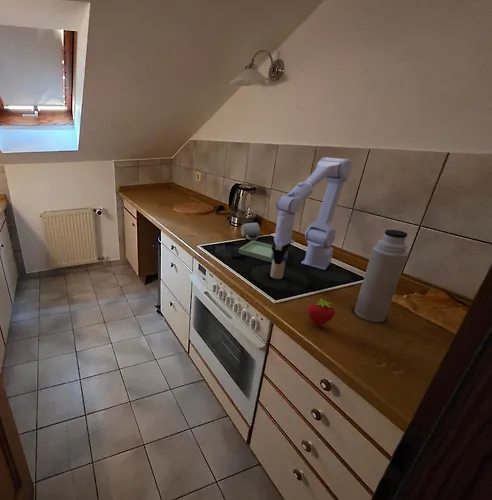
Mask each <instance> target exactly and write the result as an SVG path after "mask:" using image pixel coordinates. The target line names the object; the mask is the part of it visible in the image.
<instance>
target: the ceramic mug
mask: <svg viewBox="0 0 492 500" xmlns="http://www.w3.org/2000/svg"><path fill="white" fill-rule="evenodd" d="M260 233H261V228H260V225H259V223H258V222H250V223H249V222H248V223H243V224H241V225H240V235H241V237H243V238H246V239H247V240H248V241H250V242H251V241H257V240H258V239H259V236H260Z"/></svg>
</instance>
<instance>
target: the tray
mask: <svg viewBox="0 0 492 500" xmlns="http://www.w3.org/2000/svg"><path fill="white" fill-rule="evenodd" d="M288 251H289V250H288ZM288 251H287V252H286V253H287V254H288ZM272 252H273V251H272V244H269V243H265V242H261V241H257V240H255V241H251V240H250V242H247V243H246V244H244V245H243V246H240V247H239V248H238V254H240V255H243V256H247V257H250V258H254V259H258V260H260V261H264V262H268V263H271V264H272V260H273V259H272V258H271V255H272Z"/></svg>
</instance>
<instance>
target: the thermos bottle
mask: <svg viewBox="0 0 492 500" xmlns="http://www.w3.org/2000/svg"><path fill="white" fill-rule="evenodd" d="M407 237H408V233H407V232H406V231H403V230H398V229H385V231H384V234H383V237H382V238H381V239H378V240H377V242H376V245H374V246H373V247H372V250H371V253H370V257H369V260H368V264H367V267H366V270H365V273H364V277H363V280H362V283H361V287H360V290H359V294H358V297H357V300H356V303H355V307H354V313H355V315H356V316H358V317H359V318H361V319H363V320H366V321H369V322H373V323H382V322H384V321H385V320H386V318H387V315H388V313H389V310H390V306H391V303H392V300H393V298H394V295H395V292H396V289H397V287H398V284H399V280H400V278H401V275H402V272H403V270H404V267H405V264H406V261H407V259H408V256H409V252H408V251H407V250H408V244H407V243H406V238H407Z"/></svg>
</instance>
